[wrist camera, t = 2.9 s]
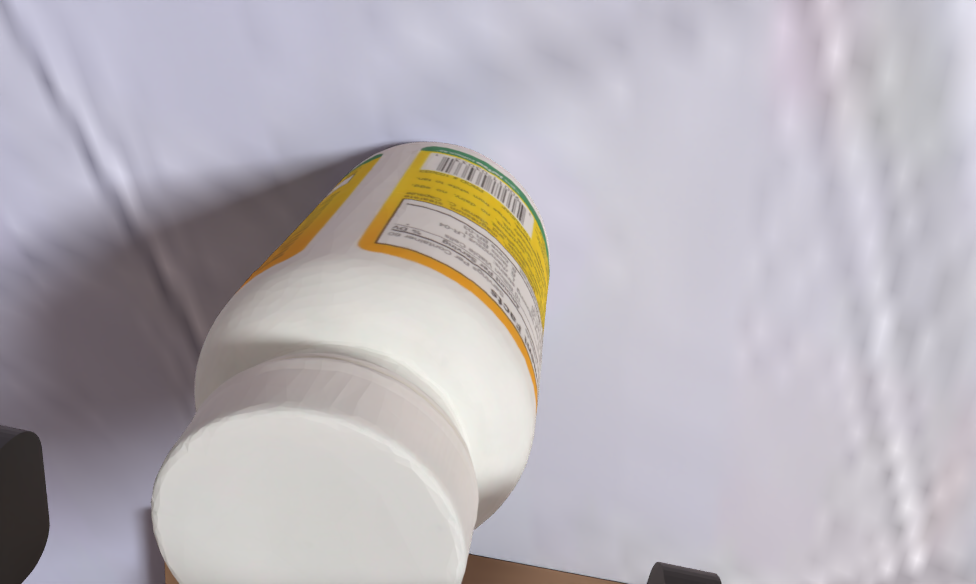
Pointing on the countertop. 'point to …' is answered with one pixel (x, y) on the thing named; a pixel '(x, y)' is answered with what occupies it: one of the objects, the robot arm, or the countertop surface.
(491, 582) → the socket stand
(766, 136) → the countertop surface
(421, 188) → the supplement bottle
